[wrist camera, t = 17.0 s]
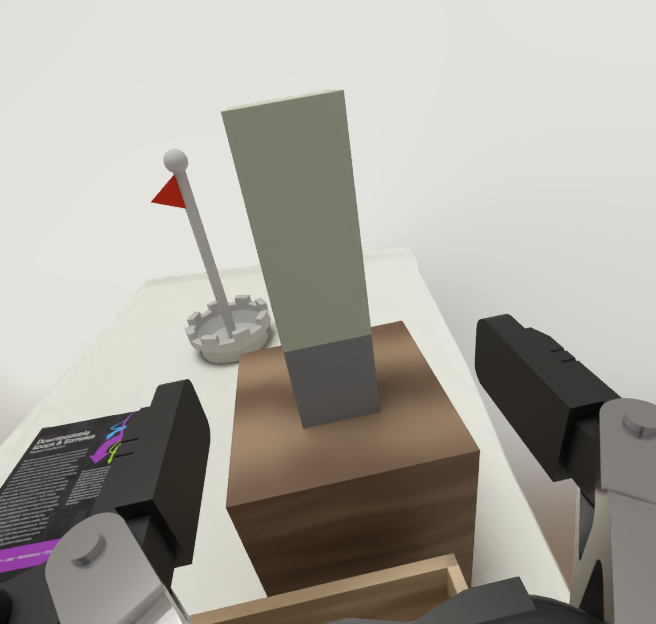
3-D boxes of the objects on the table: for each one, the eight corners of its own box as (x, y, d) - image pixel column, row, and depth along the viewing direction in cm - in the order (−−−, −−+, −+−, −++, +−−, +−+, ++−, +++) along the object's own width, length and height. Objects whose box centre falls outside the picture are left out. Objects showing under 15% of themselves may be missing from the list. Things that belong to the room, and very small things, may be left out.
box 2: (380, 411, 25) (343, 89, 16) (303, 428, 25) (220, 111, 16) (363, 364, 29) (326, 90, 20) (297, 378, 29) (230, 107, 20)
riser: (470, 593, 30) (479, 450, 21) (287, 638, 29) (225, 507, 21) (410, 447, 42) (402, 320, 34) (280, 476, 41) (239, 354, 33)
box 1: (107, 588, 35) (161, 423, 51) (89, 568, 33) (152, 403, 50) (-53, 618, 34) (54, 442, 51) (-80, 600, 33) (41, 423, 49)
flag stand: (237, 315, 72) (182, 141, 57) (290, 330, 65) (244, 135, 50) (179, 355, 64) (97, 162, 49) (233, 377, 57) (156, 159, 41)
